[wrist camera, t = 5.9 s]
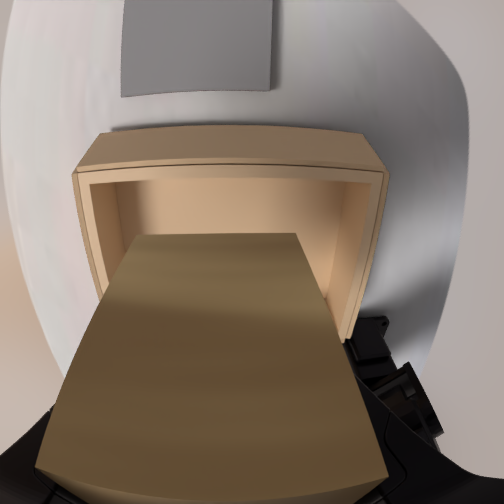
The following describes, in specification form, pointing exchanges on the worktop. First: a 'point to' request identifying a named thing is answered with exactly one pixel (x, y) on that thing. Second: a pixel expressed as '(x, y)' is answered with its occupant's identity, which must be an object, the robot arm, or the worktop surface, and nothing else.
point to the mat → (195, 46)
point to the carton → (238, 197)
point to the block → (212, 383)
